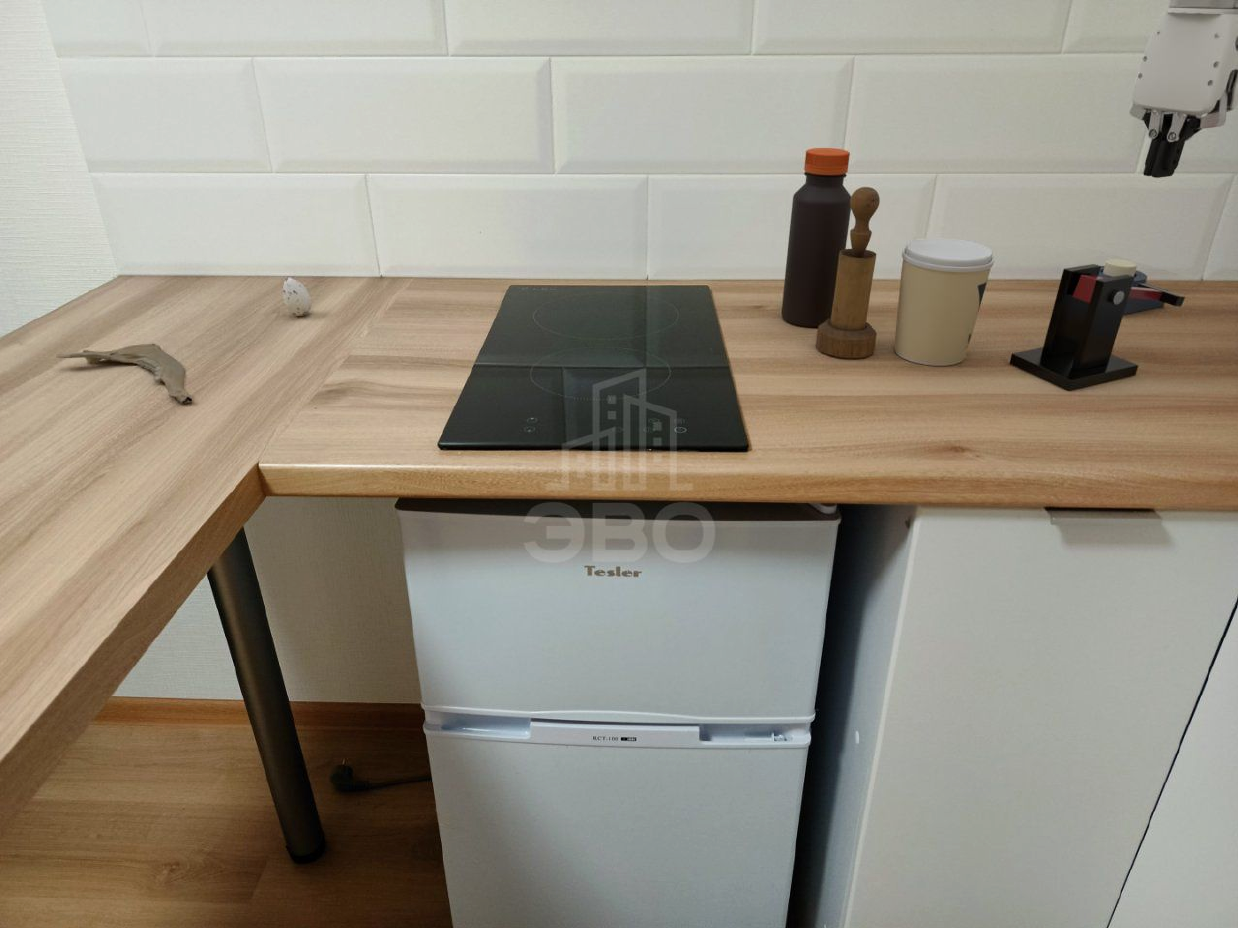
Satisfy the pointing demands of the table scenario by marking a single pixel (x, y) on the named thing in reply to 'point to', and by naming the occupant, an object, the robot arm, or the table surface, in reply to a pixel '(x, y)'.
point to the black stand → (1082, 334)
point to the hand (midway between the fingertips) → (1157, 175)
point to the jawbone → (144, 365)
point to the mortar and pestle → (853, 288)
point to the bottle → (816, 238)
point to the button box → (1137, 304)
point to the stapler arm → (1139, 292)
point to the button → (1119, 267)
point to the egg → (296, 297)
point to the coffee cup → (940, 299)
